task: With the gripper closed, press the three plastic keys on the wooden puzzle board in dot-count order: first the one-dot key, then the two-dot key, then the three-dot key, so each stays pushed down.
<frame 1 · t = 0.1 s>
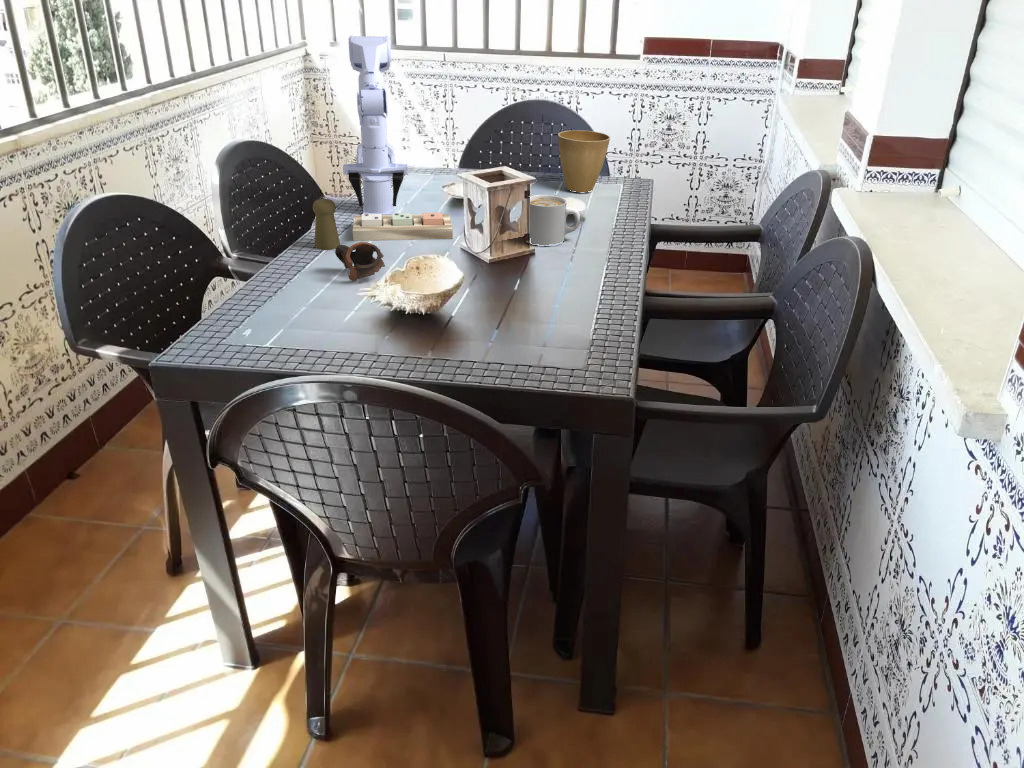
hand: (377, 205, 190), 10 cm above the table, tool pointing down, fingers open, 7 cm apart
wooden puzzle board: (402, 231, 205), on the table
pottery mug: (360, 275, 180), on the table
plant pot: (580, 191, 242), on the table
two dot key: (371, 222, 203), point 3 cm above the table, slide at 0.0 cm
one dot key: (432, 221, 205), point 3 cm above the table, slide at 0.0 cm
coffee mug: (550, 241, 202), on the table
three dot key: (402, 221, 204), point 3 cm above the table, slide at 0.0 cm
cork: (327, 246, 195), on the table
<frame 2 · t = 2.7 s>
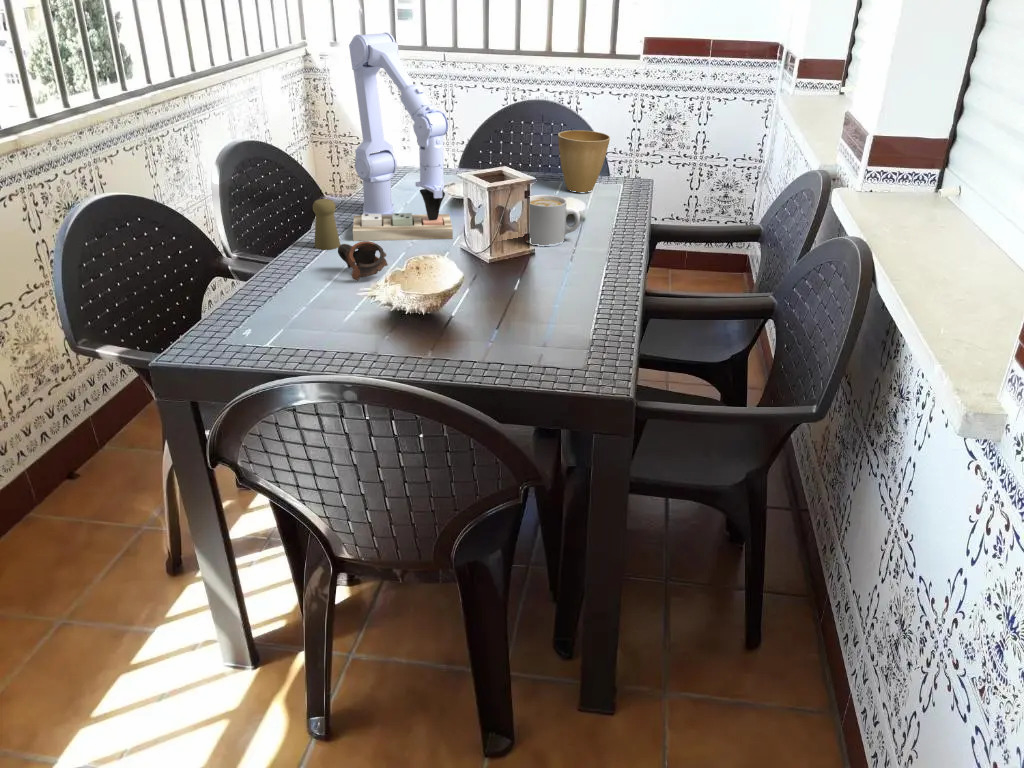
hand: (432, 219, 204), 3 cm above the table, tool pointing down, fingers closed, pressing on one dot key
one dot key: (432, 224, 205), point 2 cm above the table, slide at 1.0 cm, touching gripper
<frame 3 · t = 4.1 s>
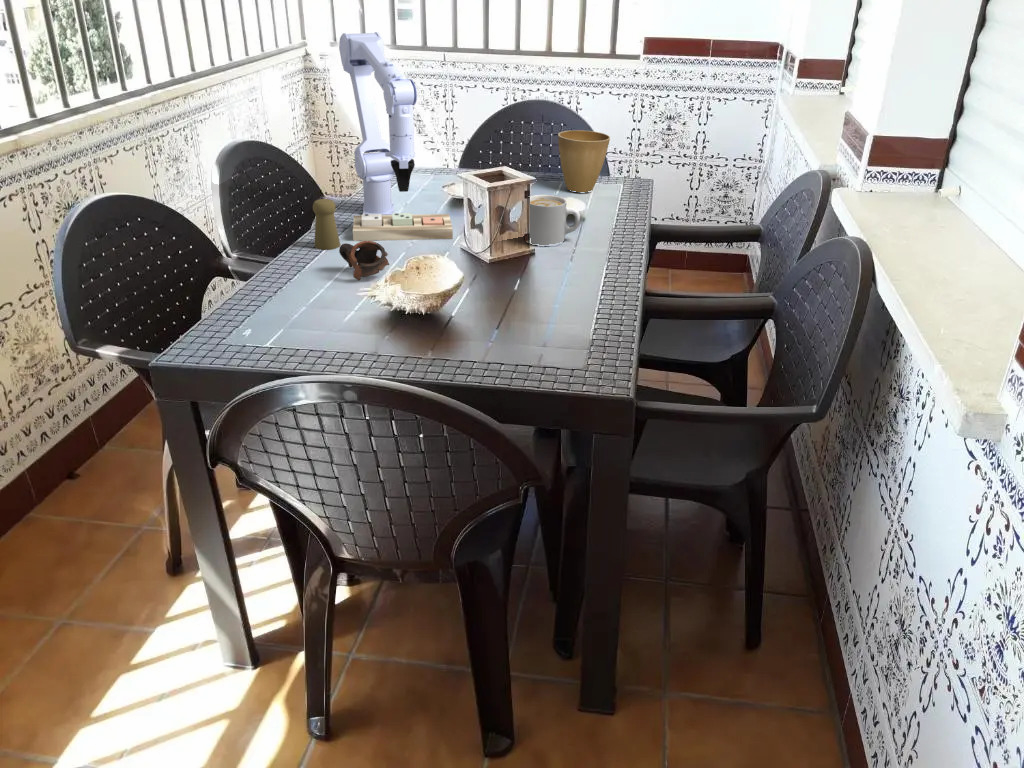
hand: (403, 190, 200), 10 cm above the table, tool pointing down, fingers closed
one dot key: (432, 225, 205), point 2 cm above the table, slide at 1.0 cm
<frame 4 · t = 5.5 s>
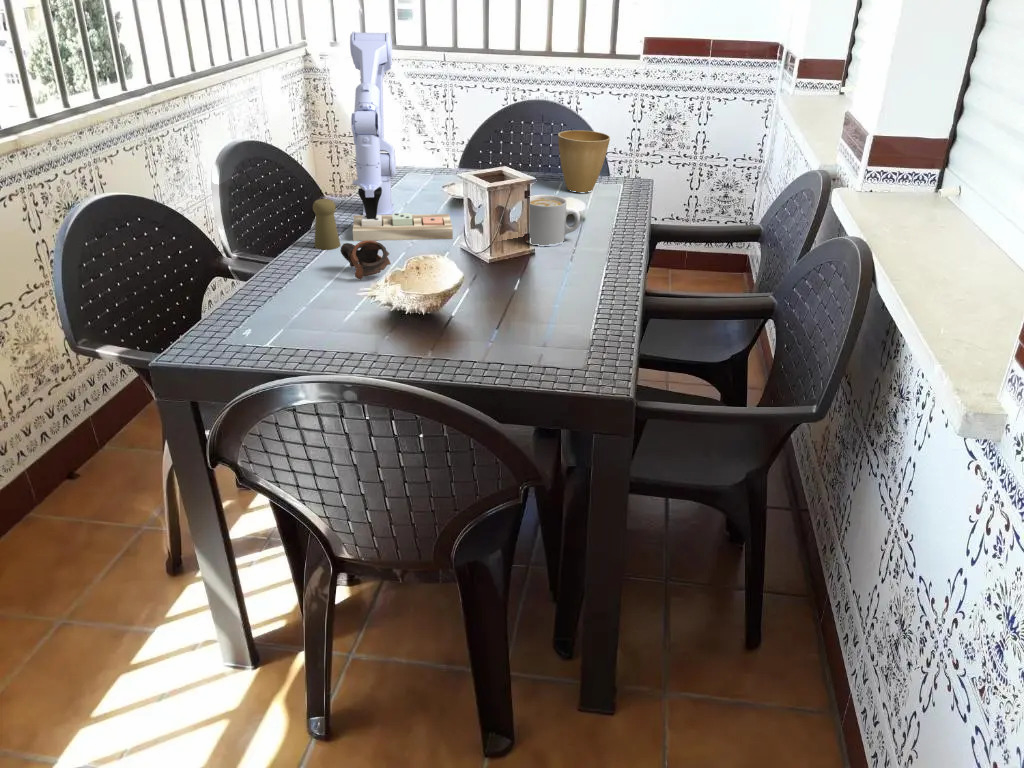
hand: (371, 218, 202), 4 cm above the table, tool pointing down, fingers closed, pressing on two dot key
two dot key: (371, 223, 203), point 2 cm above the table, slide at 0.3 cm, touching gripper
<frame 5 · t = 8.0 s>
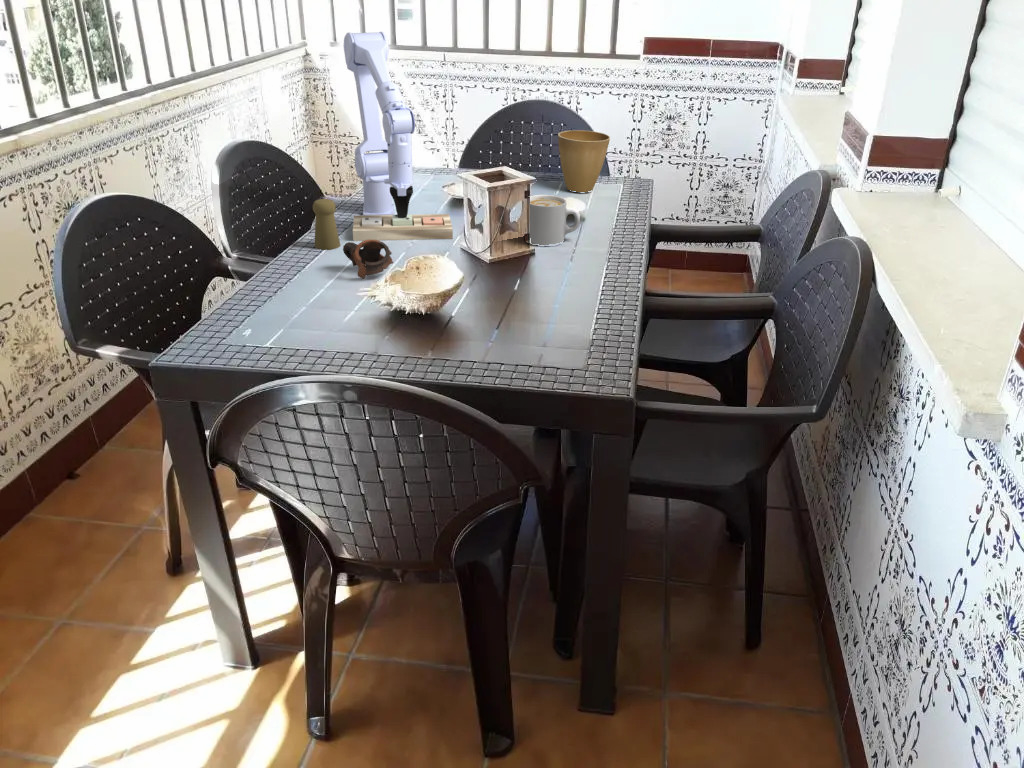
hand: (402, 216, 203), 4 cm above the table, tool pointing down, fingers closed, pressing on three dot key
two dot key: (372, 226, 203), point 2 cm above the table, slide at 1.0 cm
three dot key: (402, 222, 204), point 2 cm above the table, slide at 0.3 cm, touching gripper
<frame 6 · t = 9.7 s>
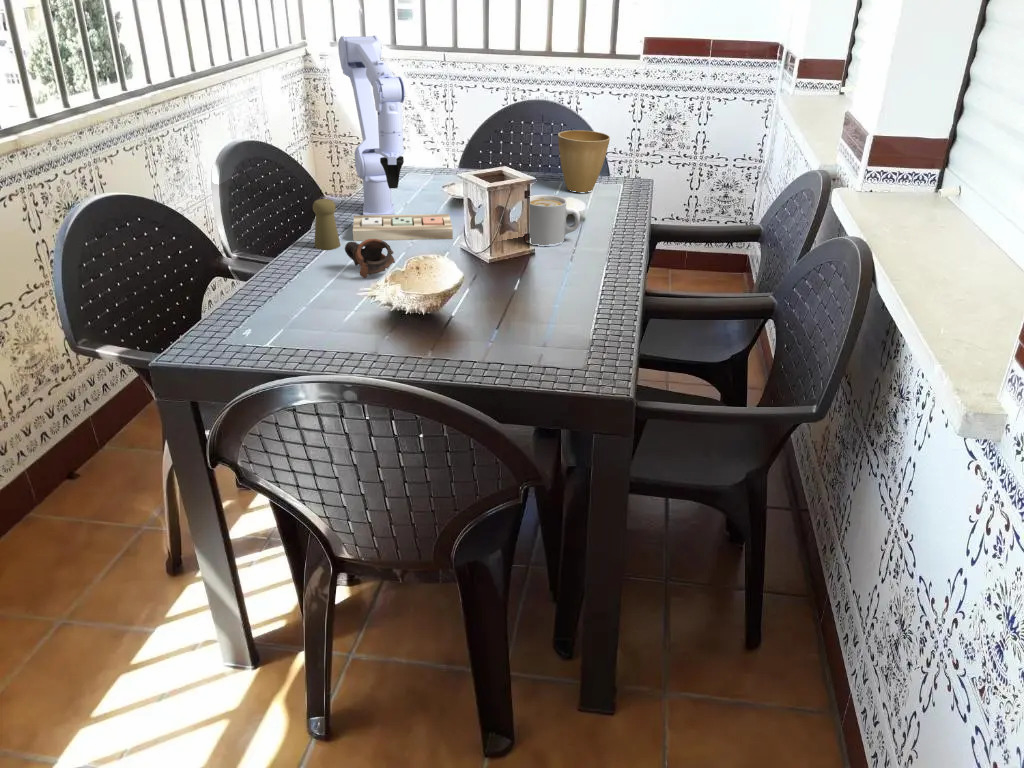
hand: (393, 187, 202), 10 cm above the table, tool pointing down, fingers closed
three dot key: (402, 225, 204), point 2 cm above the table, slide at 1.0 cm
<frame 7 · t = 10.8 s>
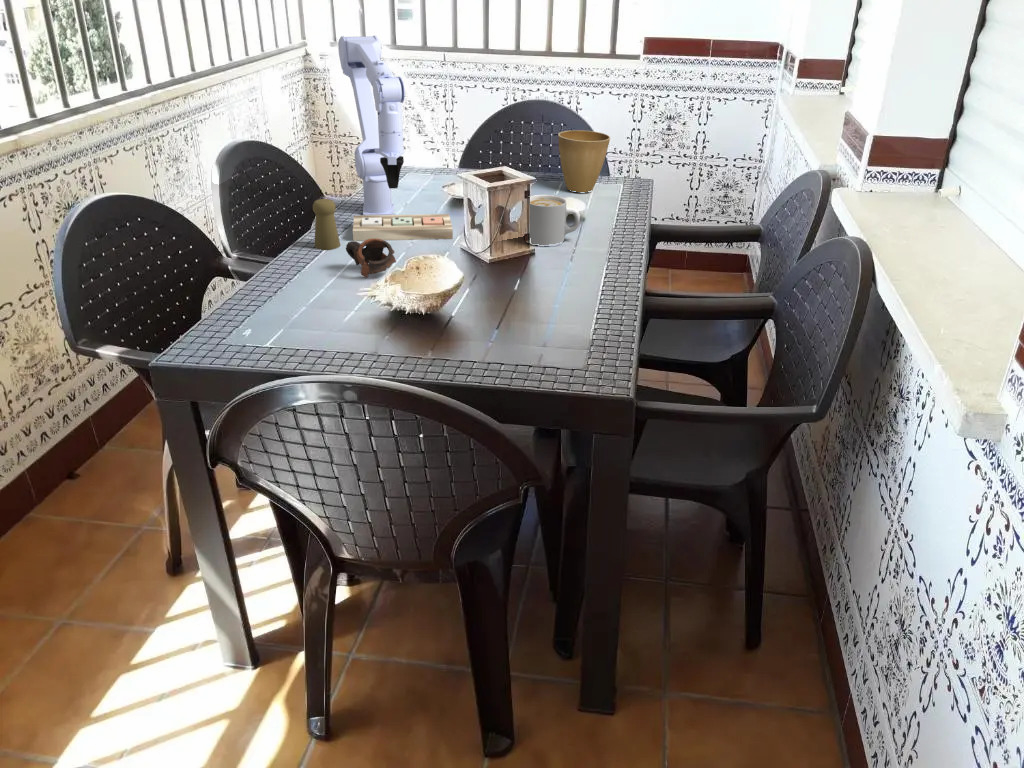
hand: (393, 187, 202), 10 cm above the table, tool pointing down, fingers closed
at the end: one dot key slide at 1.0 cm; two dot key slide at 1.0 cm; three dot key slide at 1.0 cm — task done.
